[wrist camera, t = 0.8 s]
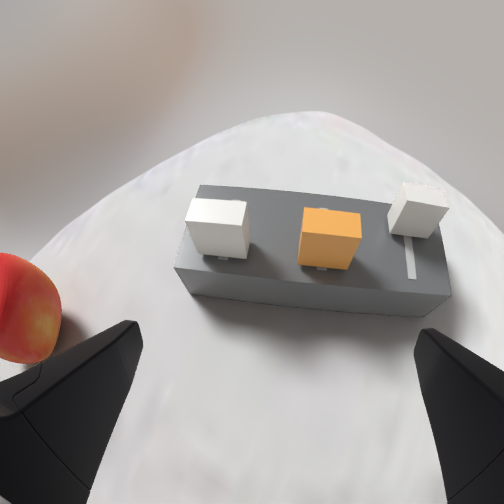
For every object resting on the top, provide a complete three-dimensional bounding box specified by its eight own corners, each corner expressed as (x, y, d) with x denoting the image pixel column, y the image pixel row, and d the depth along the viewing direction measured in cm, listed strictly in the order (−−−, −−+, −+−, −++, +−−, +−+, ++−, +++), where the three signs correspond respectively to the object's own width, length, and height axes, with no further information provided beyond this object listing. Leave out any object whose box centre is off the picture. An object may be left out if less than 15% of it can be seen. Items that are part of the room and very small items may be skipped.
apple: (49, 272, 27) (-6, 221, 19) (98, 318, 25) (32, 268, 16) (7, 338, 23) (-56, 303, 15) (50, 395, 21) (-27, 373, 12)
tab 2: (347, 269, 20) (361, 238, 16) (297, 264, 20) (302, 231, 17) (347, 247, 21) (360, 213, 17) (299, 242, 21) (304, 207, 18)
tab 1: (246, 258, 21) (241, 225, 17) (198, 253, 21) (185, 220, 18) (250, 237, 22) (246, 201, 18) (204, 232, 22) (192, 197, 19)
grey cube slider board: (423, 316, 23) (451, 295, 19) (189, 293, 26) (173, 266, 21) (415, 240, 27) (435, 209, 23) (209, 218, 30) (200, 183, 25)
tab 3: (427, 238, 21) (449, 208, 17) (389, 233, 21) (407, 200, 18) (424, 220, 22) (443, 189, 18) (387, 214, 22) (402, 180, 19)
